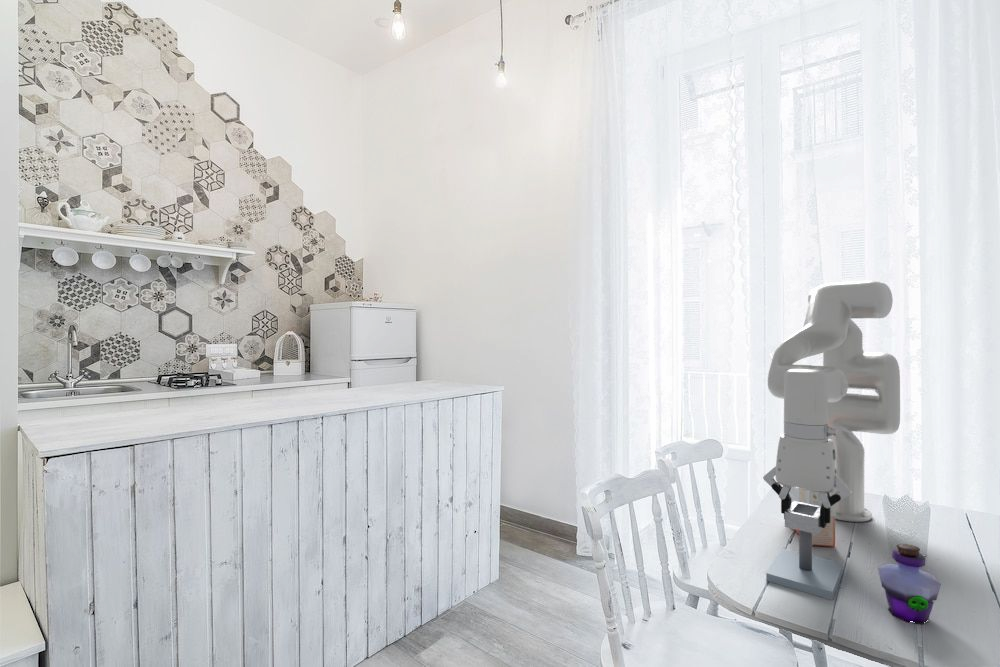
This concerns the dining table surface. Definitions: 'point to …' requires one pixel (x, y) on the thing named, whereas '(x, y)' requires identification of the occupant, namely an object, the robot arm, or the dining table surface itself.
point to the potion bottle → (909, 585)
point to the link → (803, 517)
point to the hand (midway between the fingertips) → (805, 520)
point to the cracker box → (813, 497)
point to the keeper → (806, 570)
